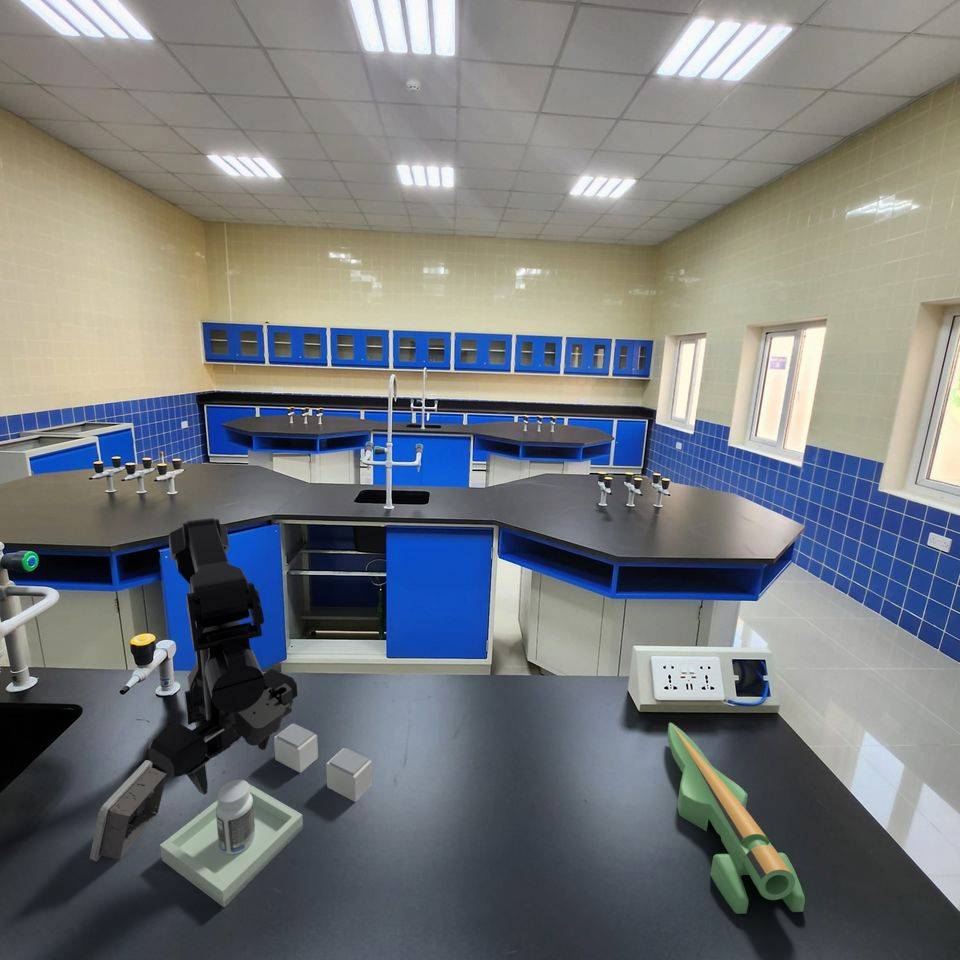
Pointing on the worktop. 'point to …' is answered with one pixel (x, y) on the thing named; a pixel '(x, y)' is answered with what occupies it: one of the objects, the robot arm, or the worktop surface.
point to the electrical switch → (128, 812)
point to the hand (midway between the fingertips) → (234, 769)
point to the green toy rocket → (731, 831)
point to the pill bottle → (235, 817)
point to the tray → (230, 873)
